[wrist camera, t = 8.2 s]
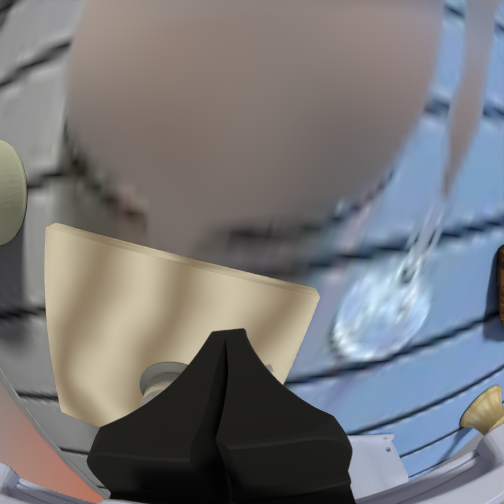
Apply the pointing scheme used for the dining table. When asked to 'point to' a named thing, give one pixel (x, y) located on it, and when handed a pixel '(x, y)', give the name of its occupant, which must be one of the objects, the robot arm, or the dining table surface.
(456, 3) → the dining table surface
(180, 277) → the base plate
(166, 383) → the wooden handled dome
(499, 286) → the croissant
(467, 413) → the hand bell
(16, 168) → the can
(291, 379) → the dining table surface
